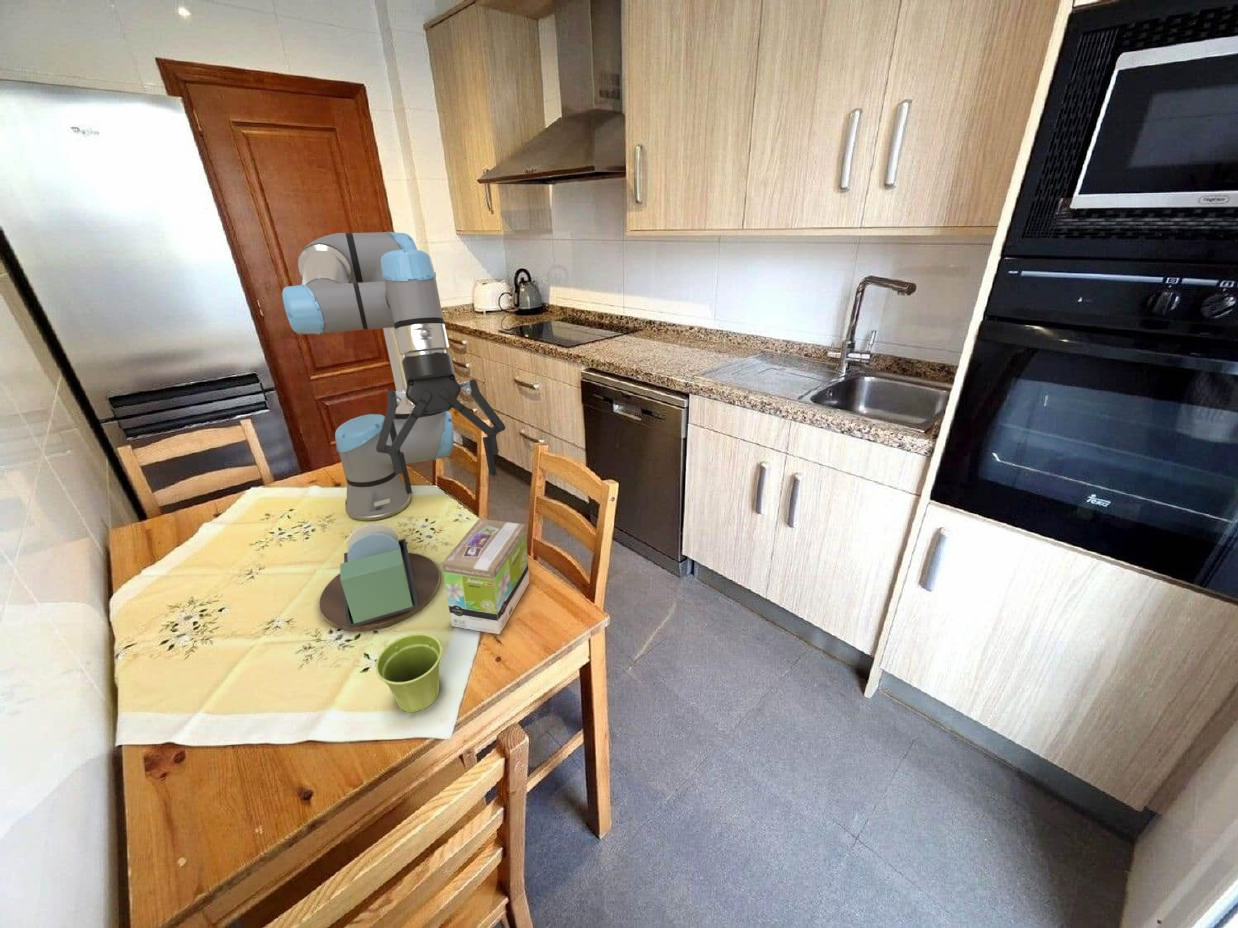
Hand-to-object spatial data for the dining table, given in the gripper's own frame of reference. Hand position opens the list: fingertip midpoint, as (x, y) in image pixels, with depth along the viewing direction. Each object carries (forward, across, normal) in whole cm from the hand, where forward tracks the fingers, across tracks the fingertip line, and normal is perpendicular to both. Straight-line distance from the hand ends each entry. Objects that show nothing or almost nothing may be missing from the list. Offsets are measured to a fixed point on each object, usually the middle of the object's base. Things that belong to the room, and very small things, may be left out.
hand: (452, 483), depth 84 cm
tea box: (+26, +4, +9) cm, 28 cm away
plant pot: (+31, -12, -6) cm, 34 cm away
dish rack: (+21, -15, +21) cm, 33 cm away
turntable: (+22, -15, +21) cm, 34 cm away
